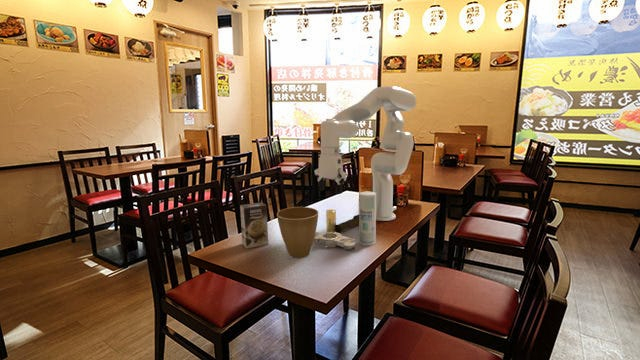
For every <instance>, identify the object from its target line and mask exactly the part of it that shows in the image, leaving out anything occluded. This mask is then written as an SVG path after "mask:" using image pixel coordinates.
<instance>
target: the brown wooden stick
mask: <svg viewBox="0 0 640 360" xmlns="http://www.w3.org/2000/svg"><path fill="white" fill-rule="evenodd" d="M356 226H357V227H359V214H356V215H354V216H353V218H351V219H349V220H346V221H344V222H340V223H338V224H336V232H337V233H340V234H342V233H344V231H346V230H349V229H351V228H354V227H356Z"/></svg>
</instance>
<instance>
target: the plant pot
mask: <svg viewBox="0 0 640 360" xmlns="http://www.w3.org/2000/svg"><path fill="white" fill-rule="evenodd" d="M276 216H277V217H276V218H277V223H278V227H279V230H280V234H281V238H282V240H283V244H284V246H285V248H286V251H287V252H288V255H289V256H290V257H291V258H293V259H302V258H306V257H308V256H310V253H311V250H312V247H313V244H314V237H315V233H316V232H317V228H318V227H317V226H318V221H319V220H318V219H319V211H318V210H317V209H315V208H313V207H309V206H292V207H287V208H284V209H283V208H282V209H281V210H278V211H277V213H276Z"/></svg>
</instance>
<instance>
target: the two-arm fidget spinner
mask: <svg viewBox="0 0 640 360" xmlns="http://www.w3.org/2000/svg"><path fill="white" fill-rule="evenodd" d="M317 242H318V246H321V247H323V248H336V246H337V247H341V250H343V251H353V250H354V249H355V247H356V244H357V240H356V239H354V238H351V237H349V236H344V235H342V233H337V232H327V231H325V232H319V231H316V233H315V237H314V241H313V243H317ZM326 246H327V247H326Z"/></svg>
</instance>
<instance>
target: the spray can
mask: <svg viewBox="0 0 640 360" xmlns="http://www.w3.org/2000/svg"><path fill="white" fill-rule="evenodd" d="M358 193H359V194H358V197H359V198H358V201H359V202H358V209H359V210H358V212H359V213H358V215H359V226H358V229H359V244H361V245H363V246H374V245H375V244H376V237H377V235H376V233H377V232H376V229H377V227H376V226H377V220H376V193H375V192H373V191H370V190H369V191H366V190H365V191H360V192H358Z"/></svg>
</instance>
